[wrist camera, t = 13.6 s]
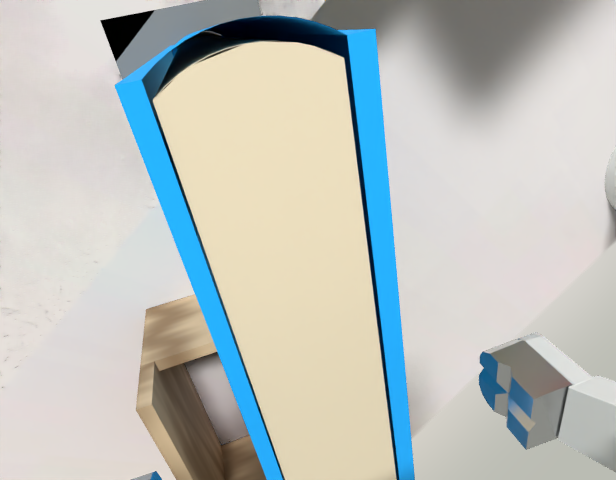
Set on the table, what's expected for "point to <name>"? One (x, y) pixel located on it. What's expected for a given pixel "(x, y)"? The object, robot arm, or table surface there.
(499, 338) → the table surface
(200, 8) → the mat
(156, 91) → the book
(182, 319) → the rack
